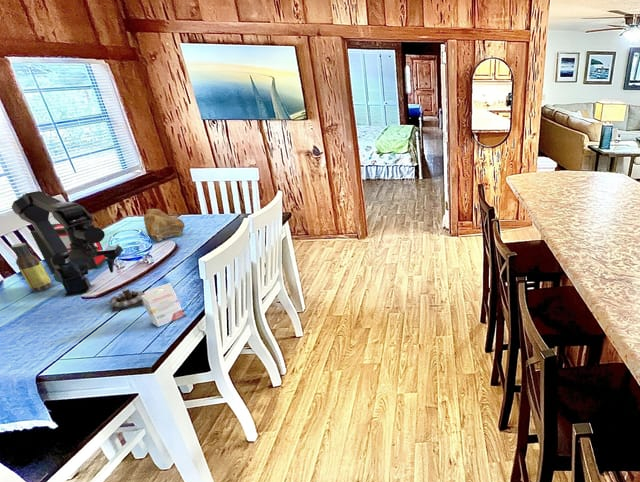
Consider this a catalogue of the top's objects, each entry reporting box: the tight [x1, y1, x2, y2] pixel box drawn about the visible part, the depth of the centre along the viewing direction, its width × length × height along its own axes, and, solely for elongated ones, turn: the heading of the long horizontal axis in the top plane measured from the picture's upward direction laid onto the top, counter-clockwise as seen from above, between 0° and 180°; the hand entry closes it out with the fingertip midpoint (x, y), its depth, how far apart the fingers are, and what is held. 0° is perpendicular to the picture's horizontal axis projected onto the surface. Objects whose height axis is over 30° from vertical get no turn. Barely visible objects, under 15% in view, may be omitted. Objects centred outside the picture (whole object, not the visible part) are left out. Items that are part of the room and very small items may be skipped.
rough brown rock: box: [143, 208, 186, 242], centre depth 208 cm, size 23×17×15 cm
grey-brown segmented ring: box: [108, 290, 145, 308], centre depth 151 cm, size 10×10×2 cm
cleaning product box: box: [30, 222, 107, 274], centre depth 174 cm, size 16×9×20 cm, turn 108°
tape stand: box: [111, 287, 144, 312], centre depth 151 cm, size 9×9×6 cm
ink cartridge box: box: [141, 282, 185, 328], centre depth 140 cm, size 9×5×15 cm, turn 148°
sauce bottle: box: [10, 242, 53, 292], centre depth 156 cm, size 6×6×20 cm
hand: (96, 274), depth 149 cm, fingers open, 9 cm apart
